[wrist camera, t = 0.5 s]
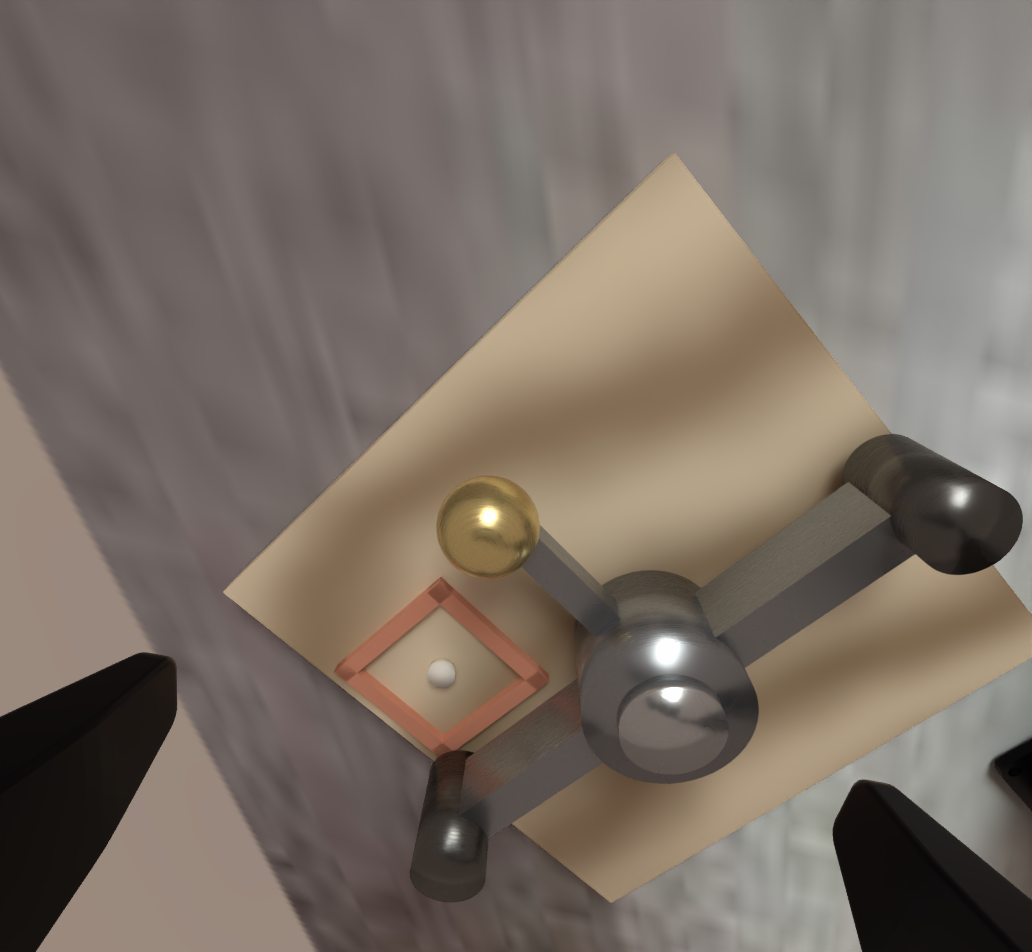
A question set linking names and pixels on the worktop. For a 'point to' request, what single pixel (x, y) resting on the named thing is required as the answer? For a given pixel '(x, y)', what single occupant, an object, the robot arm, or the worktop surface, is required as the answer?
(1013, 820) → the worktop surface
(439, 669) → the level window
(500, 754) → the bell crank
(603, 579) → the board
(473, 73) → the worktop surface
